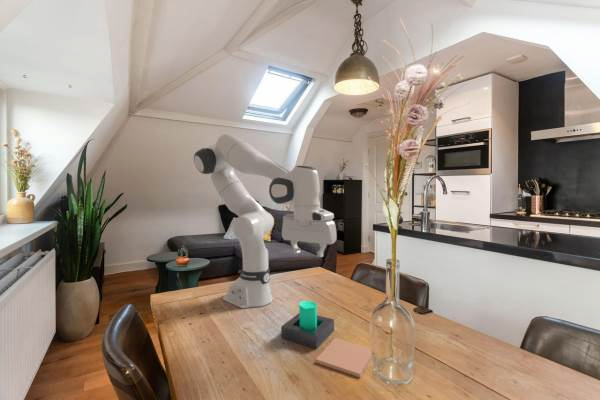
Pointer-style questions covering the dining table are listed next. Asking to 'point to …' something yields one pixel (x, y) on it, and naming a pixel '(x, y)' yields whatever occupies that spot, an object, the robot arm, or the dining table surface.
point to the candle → (308, 315)
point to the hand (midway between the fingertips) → (308, 255)
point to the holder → (307, 331)
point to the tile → (345, 357)
